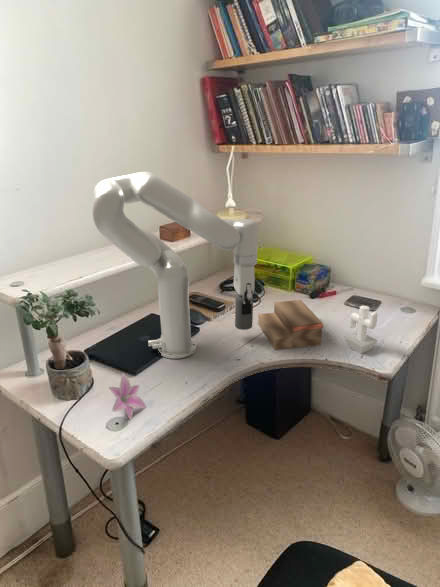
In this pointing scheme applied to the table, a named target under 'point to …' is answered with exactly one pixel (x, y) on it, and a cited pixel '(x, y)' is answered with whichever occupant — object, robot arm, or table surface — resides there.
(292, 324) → the step stand
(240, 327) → the bottle
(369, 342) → the figurine
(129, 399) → the lily
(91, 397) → the table surface
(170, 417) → the table surface
